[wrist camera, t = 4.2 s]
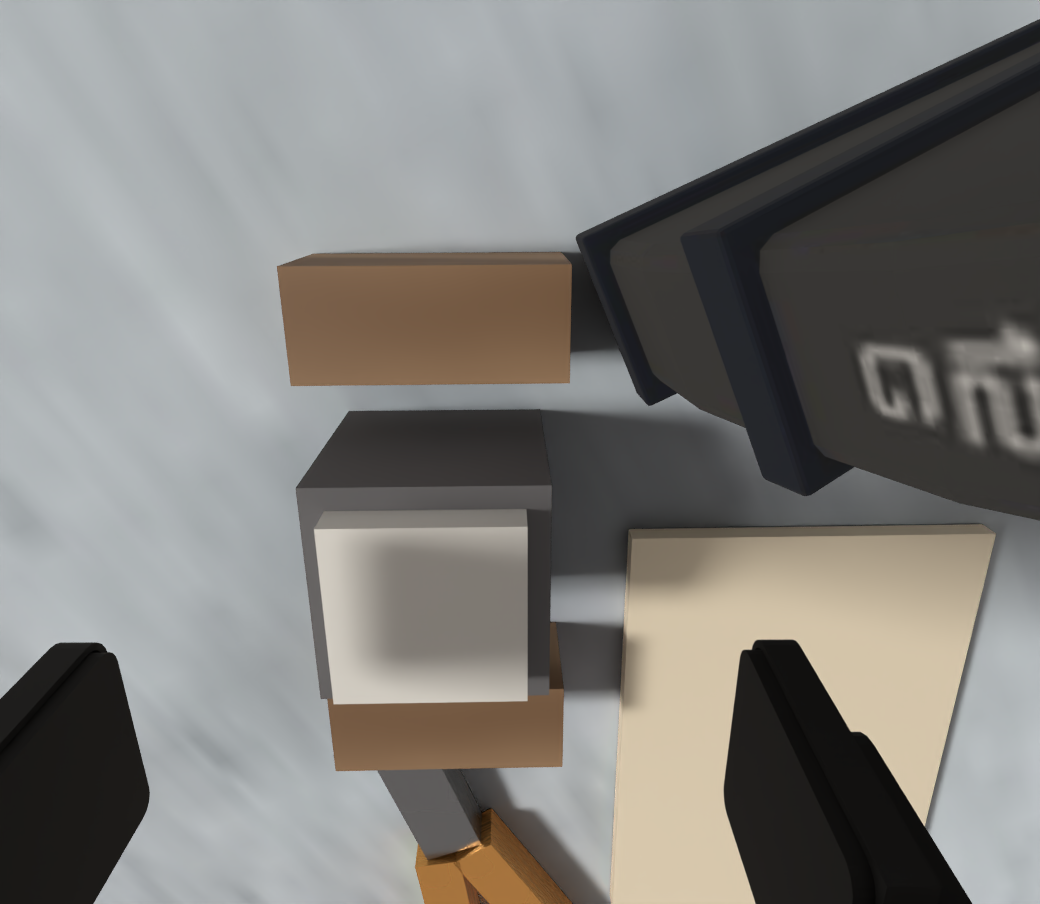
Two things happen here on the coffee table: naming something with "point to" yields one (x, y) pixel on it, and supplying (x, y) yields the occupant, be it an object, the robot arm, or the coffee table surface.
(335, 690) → the grey box
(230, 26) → the coffee table surface
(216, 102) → the coffee table surface
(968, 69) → the black layered block
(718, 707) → the mat
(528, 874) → the cutter
